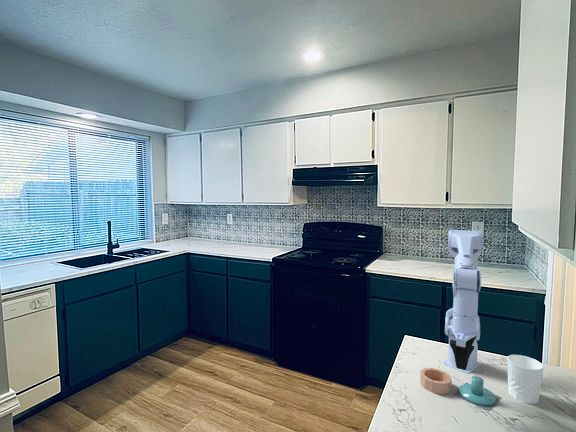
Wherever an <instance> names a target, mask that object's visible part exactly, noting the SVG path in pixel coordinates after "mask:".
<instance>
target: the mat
mask: <svg viewBox="0 0 576 432" xmlns="http://www.w3.org/2000/svg"><path fill="white" fill-rule="evenodd" d="M464 384H470V383H468V382H465V383H464ZM493 394H494V395H495V397H496V402H495V404H494V405H491V406H481V405H477V404H474V403H471V402H469V401H467V400H466V399H464V398H463V397H462V396H461V395H460V393H459V388H458V389H457V390H456V391H454V393H452V396H455V397H457V398H458V399H461V400H463V401H465V402H468V403H470V404H472V405H474V406H476V407H479V408H480V409H483V410H484V411H487V412H490V411H491V410H492V409H493V408H494V407H495V406H496V404H497V403H498V402H499V401H500V400H501V399H502V397H501V396H499V395H498V394H497V395H496V394H495V393H493Z"/></svg>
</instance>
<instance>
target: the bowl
mask: <svg viewBox="0 0 576 432" xmlns="http://www.w3.org/2000/svg"><path fill="white" fill-rule="evenodd" d="M419 378H420V379H419V381H420V383H419V384H420V386H421V387H422V388H424V390H426V391H428V392H429V393H433V394H438V395H445V394H449V393H451V391H452V386H453V385H452V383H453V382H452V381H453V380H452V375H450V374H449V373H448V372H447V371H444V370H442V369H439V368H436V367H435V368H434V367H425V368H423V369H421V370H420V376H419Z"/></svg>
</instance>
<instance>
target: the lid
mask: <svg viewBox="0 0 576 432" xmlns="http://www.w3.org/2000/svg"><path fill="white" fill-rule="evenodd" d="M458 389H459V393H460V395H461V396H462V397H463V398H464V399H466V400H467V401H469V402H468V403H470V402H471V403H470V404H472V403H474V404H477V405H481V406H491V405H494V404H495V402H496V397H495V395H496V394H495V393H494V392H492V391H491V390H489V389H487V388H485V387H484V379H483V378H482V377H481V376H479V375H478V376H477V375H472V376H471V383H469V384H465V383H464V384H461V385H460V386H459V388H458ZM494 394H495V395H494ZM467 401H466V402H467ZM474 404H473V405H474ZM495 405H496V404H495ZM495 405H494V406H495Z"/></svg>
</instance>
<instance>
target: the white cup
mask: <svg viewBox="0 0 576 432" xmlns="http://www.w3.org/2000/svg"><path fill="white" fill-rule="evenodd" d="M506 361H507V362H506V363H507V385H508V387H507V388H508V391H507V392H508V394H509V396H510V397H512V398H514V399H515V400H516V401H518V402H522V403H524V404H525V403H526V404H528V405H529V404H530V405H533V404H538V403H539V402H540V395H541V390H542V389H541V388H542V382H543V376H544V375H543V373H544V365H543V363H542V362H540V361H538V360H536V359H535V358H532V357H529V356H526V355H521V354H510V355H508V356H507V359H506Z"/></svg>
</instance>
